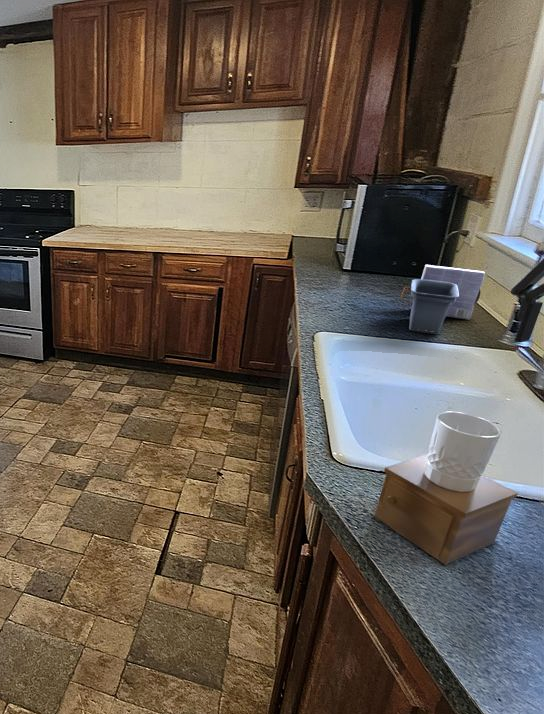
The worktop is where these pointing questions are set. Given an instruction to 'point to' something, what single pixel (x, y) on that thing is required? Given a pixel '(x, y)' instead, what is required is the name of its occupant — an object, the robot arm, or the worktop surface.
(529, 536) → the worktop surface
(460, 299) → the cake pan box
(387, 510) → the cupboard
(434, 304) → the storage bin
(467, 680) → the worktop surface
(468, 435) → the white cup
